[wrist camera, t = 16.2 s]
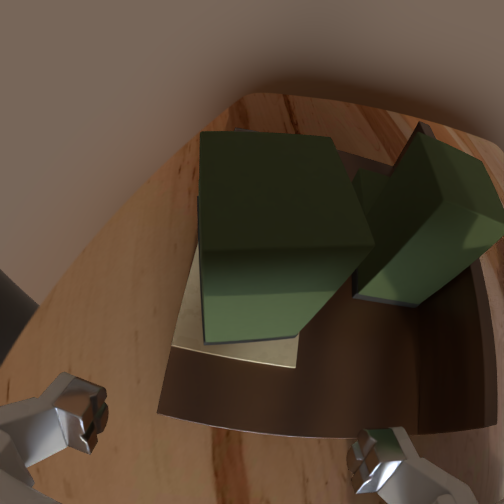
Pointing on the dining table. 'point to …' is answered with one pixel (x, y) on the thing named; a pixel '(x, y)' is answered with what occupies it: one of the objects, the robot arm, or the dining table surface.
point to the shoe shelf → (344, 362)
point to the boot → (273, 233)
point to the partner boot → (424, 222)
